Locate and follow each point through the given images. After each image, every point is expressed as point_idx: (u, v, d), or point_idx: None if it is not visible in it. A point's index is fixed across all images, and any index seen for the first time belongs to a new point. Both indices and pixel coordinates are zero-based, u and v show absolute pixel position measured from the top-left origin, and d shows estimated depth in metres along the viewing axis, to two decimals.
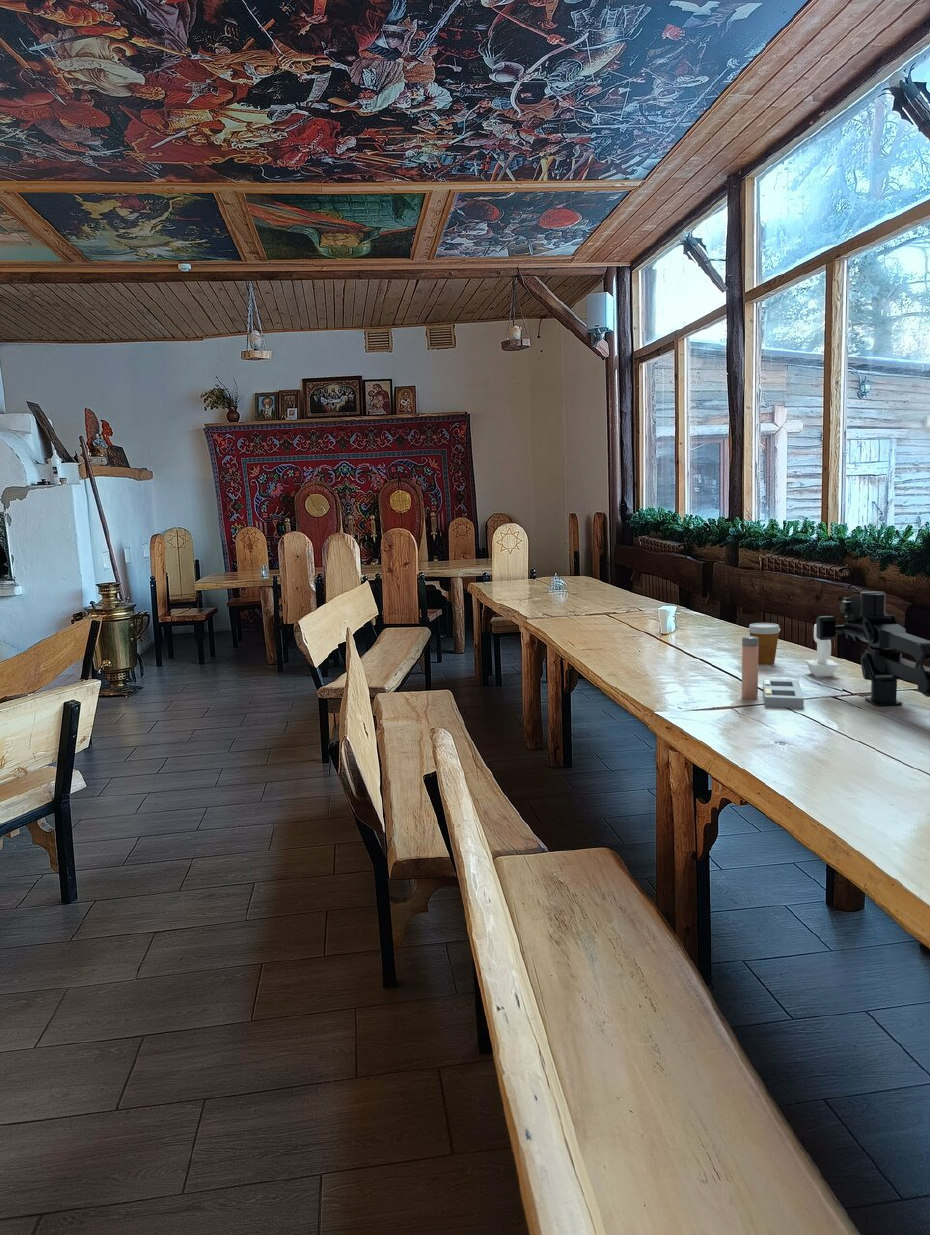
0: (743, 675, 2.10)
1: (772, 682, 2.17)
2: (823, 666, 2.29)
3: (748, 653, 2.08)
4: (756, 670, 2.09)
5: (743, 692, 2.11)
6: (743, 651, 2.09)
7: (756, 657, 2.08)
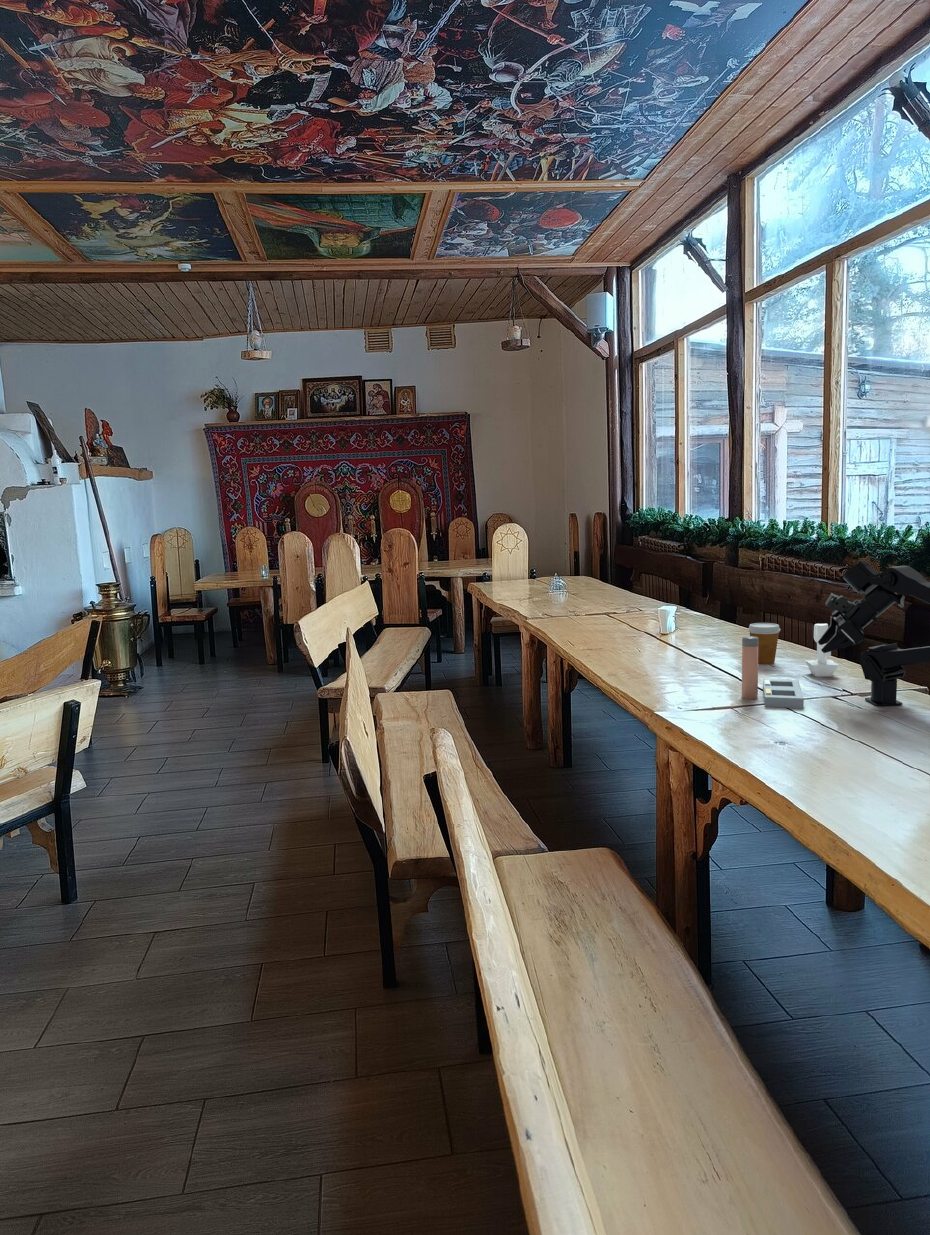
0: (743, 675, 2.10)
1: (772, 682, 2.17)
2: (823, 666, 2.29)
3: (748, 653, 2.08)
4: (756, 670, 2.09)
5: (743, 692, 2.11)
6: (743, 651, 2.09)
7: (756, 657, 2.08)
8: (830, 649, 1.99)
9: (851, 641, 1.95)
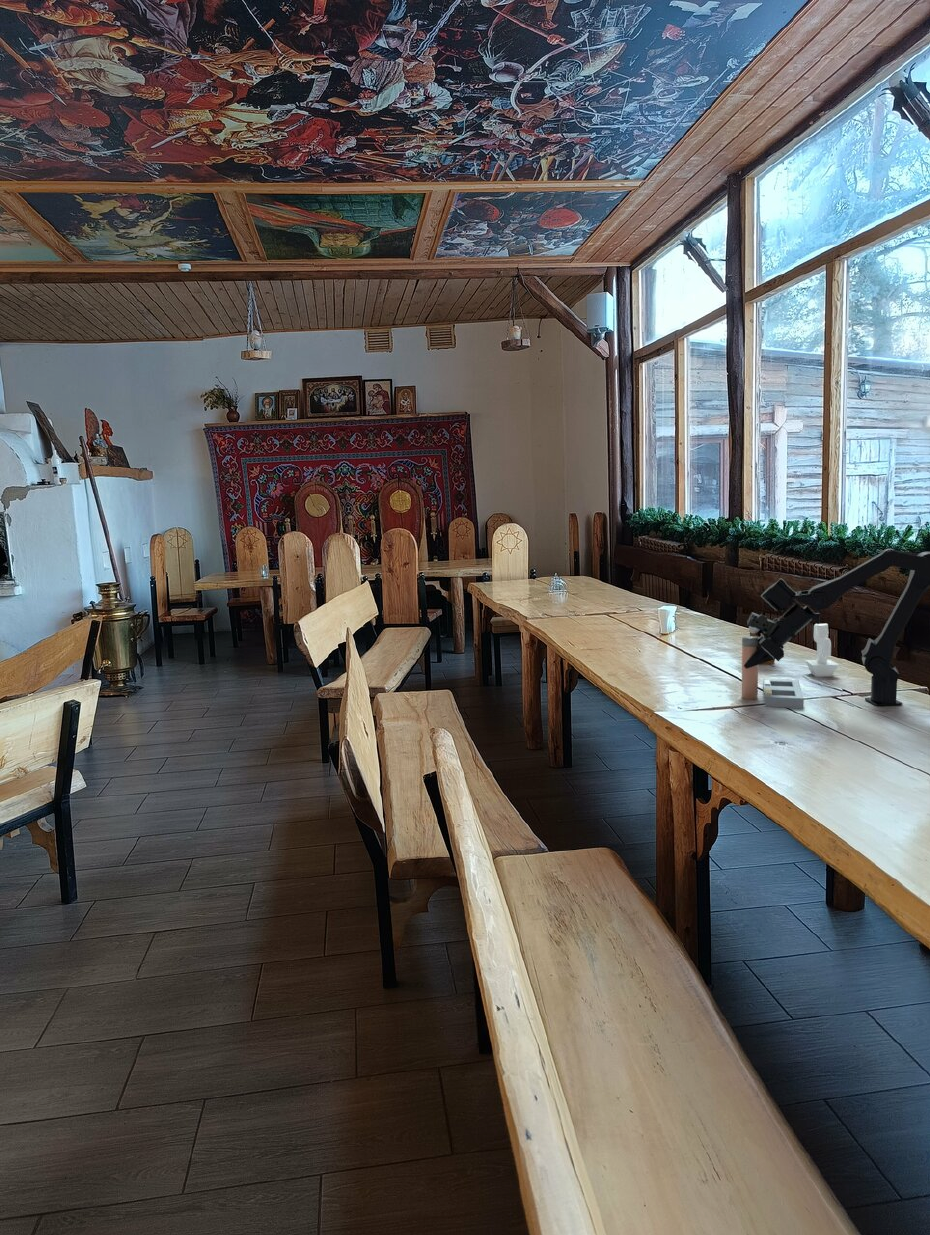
0: (743, 675, 2.10)
1: (772, 682, 2.17)
2: (823, 666, 2.29)
3: (748, 653, 2.08)
4: (756, 670, 2.09)
5: (743, 692, 2.11)
6: (743, 651, 2.09)
7: None
8: (752, 664, 2.07)
9: (771, 656, 2.03)
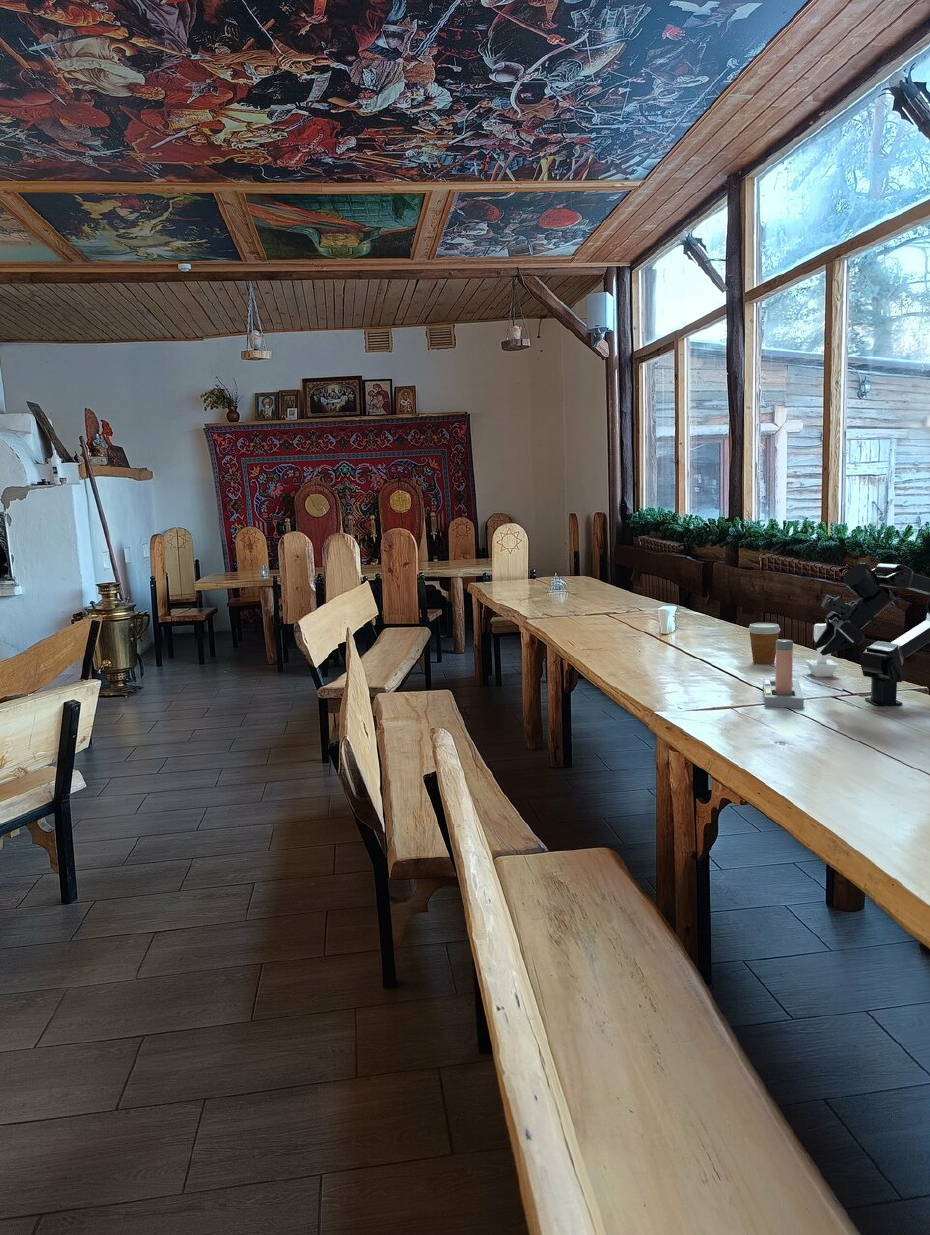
0: (777, 680, 2.03)
1: (772, 682, 2.17)
2: (823, 666, 2.29)
3: (782, 657, 2.02)
4: (790, 674, 2.02)
5: None
6: (777, 655, 2.03)
7: (791, 661, 2.02)
8: (829, 651, 1.95)
9: (851, 642, 1.91)
